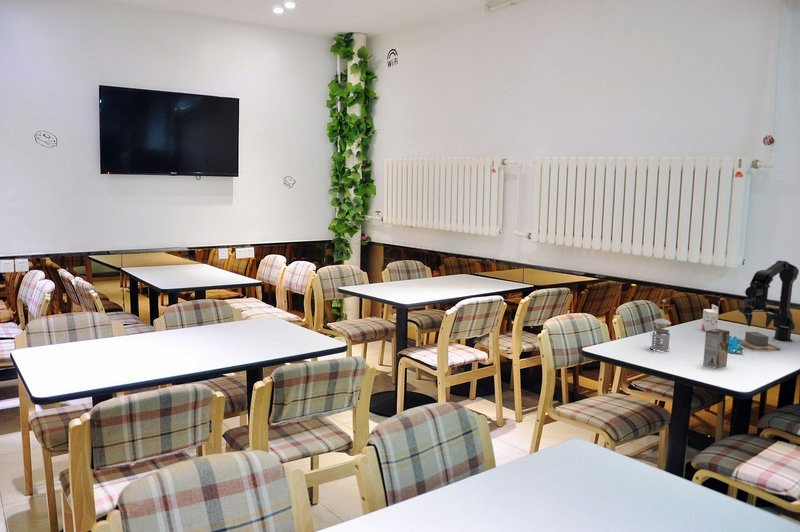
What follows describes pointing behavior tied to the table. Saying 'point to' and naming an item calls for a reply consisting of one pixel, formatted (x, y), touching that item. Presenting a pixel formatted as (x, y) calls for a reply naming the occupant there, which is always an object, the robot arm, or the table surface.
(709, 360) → the coffee box
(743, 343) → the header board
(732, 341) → the gear
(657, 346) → the french press
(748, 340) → the block
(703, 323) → the ink cartridge box
